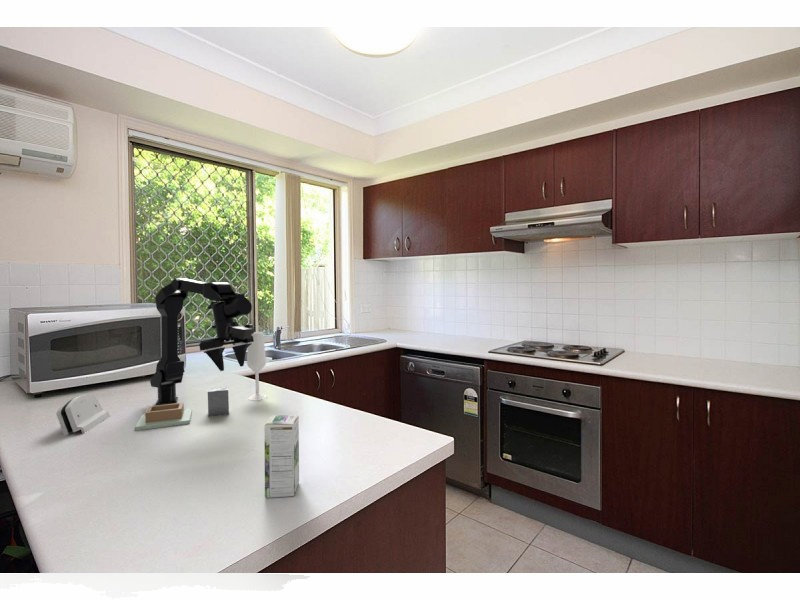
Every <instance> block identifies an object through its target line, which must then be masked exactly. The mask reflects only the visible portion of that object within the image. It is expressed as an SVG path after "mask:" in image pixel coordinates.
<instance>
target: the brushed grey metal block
mask: <svg viewBox="0 0 800 600" xmlns="http://www.w3.org/2000/svg"><path fill="white" fill-rule="evenodd" d="M229 398H230V397H229V386H227V387H225V386H224V387H215V388H208V389H207V414H208V416H207V418H212V416H213V417H219V416H229V415H230V408H229V407H230V406H229V405H230V404H229V403H230V402H229Z"/></svg>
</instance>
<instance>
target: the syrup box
mask: <svg viewBox="0 0 800 600" xmlns="http://www.w3.org/2000/svg"><path fill="white" fill-rule="evenodd" d="M299 417H300V416H299V415H295V414H277V415H276V414H275V415H271V416H270V417H269V419H268V421H266V423H265V424H264V434H263V435H264V498H265V499H272V498H284V497H285V498H286V497H295V495H296V492H297V490H298V486H299V483H300V451H299V450H300V432H299V431H300V428H299V427H300V425H299V422H300V420H299Z"/></svg>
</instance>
